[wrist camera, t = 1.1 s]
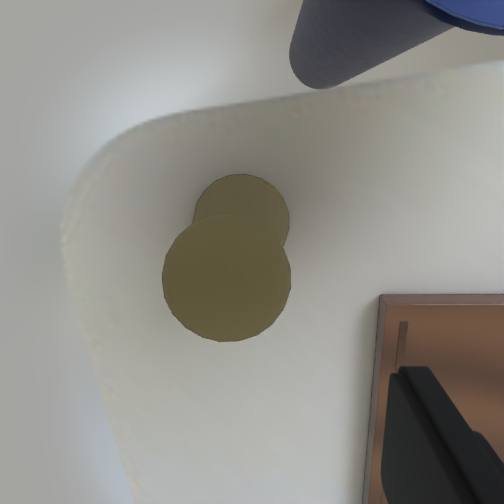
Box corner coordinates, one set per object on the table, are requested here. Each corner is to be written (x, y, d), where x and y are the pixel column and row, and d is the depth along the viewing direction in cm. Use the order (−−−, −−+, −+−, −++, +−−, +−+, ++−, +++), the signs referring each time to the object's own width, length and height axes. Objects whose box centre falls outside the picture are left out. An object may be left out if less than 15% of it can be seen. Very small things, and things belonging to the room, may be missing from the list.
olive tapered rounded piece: (191, 262, 26) (139, 358, 15) (196, 168, 24) (141, 206, 14) (283, 272, 26) (293, 375, 15) (295, 179, 24) (317, 225, 13)
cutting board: (380, 294, 26) (386, 304, 25) (600, 293, 25) (620, 303, 24) (359, 535, 33) (363, 554, 32) (531, 539, 32) (544, 559, 31)
